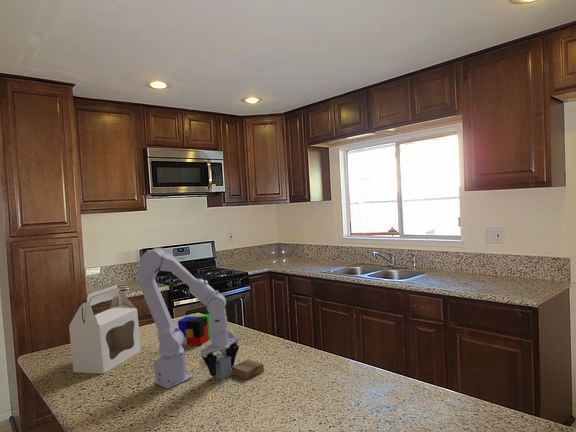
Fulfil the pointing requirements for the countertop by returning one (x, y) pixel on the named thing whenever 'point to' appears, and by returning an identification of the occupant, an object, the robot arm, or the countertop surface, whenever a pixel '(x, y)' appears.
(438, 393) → the countertop surface
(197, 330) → the puzzle toy
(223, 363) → the grey block
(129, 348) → the gable box
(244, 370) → the walnut block
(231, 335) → the donut
